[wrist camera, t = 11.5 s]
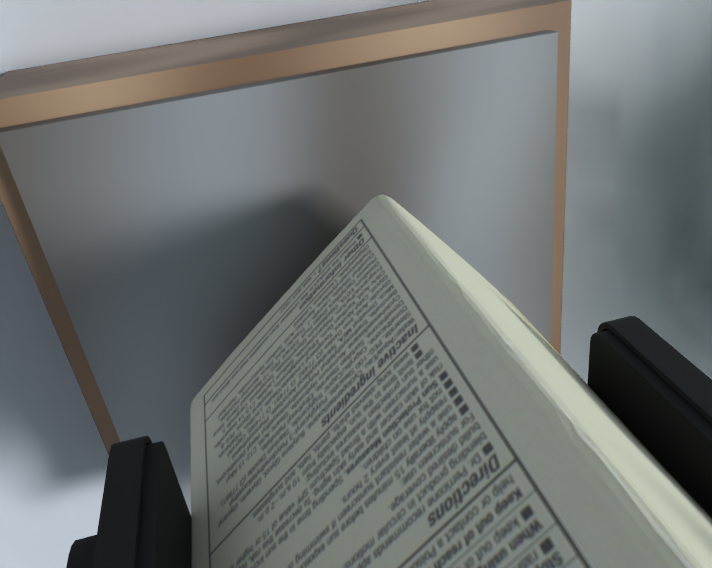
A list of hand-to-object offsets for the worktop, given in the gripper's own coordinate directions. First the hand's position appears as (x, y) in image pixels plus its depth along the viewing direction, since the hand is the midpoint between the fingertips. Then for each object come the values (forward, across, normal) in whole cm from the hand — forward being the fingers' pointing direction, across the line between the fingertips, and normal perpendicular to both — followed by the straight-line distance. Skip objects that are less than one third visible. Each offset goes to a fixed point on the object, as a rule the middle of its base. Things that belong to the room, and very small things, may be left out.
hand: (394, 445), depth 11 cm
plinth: (+9, 0, 0) cm, 9 cm away
